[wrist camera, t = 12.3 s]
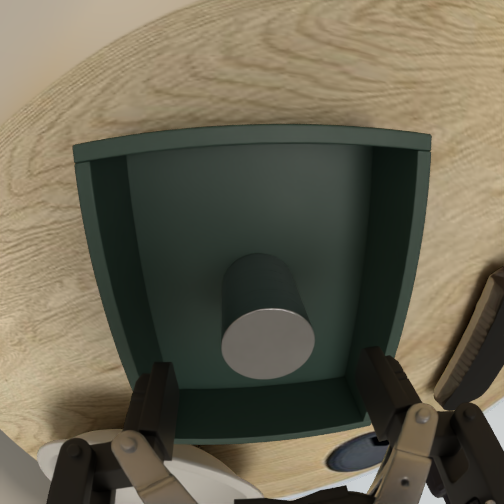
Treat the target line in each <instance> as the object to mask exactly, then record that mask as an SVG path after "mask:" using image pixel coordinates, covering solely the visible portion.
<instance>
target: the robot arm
mask: <svg viewBox="0 0 504 504" xmlns="http://www.w3.org/2000/svg"><path fill="white" fill-rule="evenodd" d="M355 383H356V386H357V389H358V391H359V393H360V396H361V398H362V400H363V403H364V405H365V408H366V410H367V413H368V415H369V417H370V420H371V422H372V425H373V427H374V430H375V432H376V435H377V437H378V440H379V442H380V441H383V440H387V439H388V441H389V443H390V445H389V446H388V449H387V451H386V454H385V456H384V458H383V461H382V463H381V466H380V468H379V470H378V473H377V475H376V477H375V479H374V481H373V483H372V485H371V486H370V488H369V490H368V492H367V494H364V493H360V492H354V491H348V490H347V486H346V485H345V486H341V487H336V488H331V489H325V490H320V491H317V492H315V493H312V494H310V495H307V496H305V497H302V498H299V499H296V500H293V501H287V500H277V499H268V498H251V499H234V504H418V503H419V500H420V498H421V495H422V492H423V489H424V486H425V483H426V480H427V476H428V473H429V470H430V466H431V462H432V459H431V458H429V457H433V458H434V461H435V463H436V466H437V469H438V471H439V474H440V476H441V479H442V482H443V484H444V487H445V490H446V493H447V495H448V498H449V501H450V504H504V451H503V449H502V447H501V445H500V443H499V441H498V440H497V438H496V436H495V434H494V432H493V430H492V428H491V427H490V425H489V423H488V421H487V420H486V418H485V416H484V414H483V413H482V411H481V409H480V408H479V407H478V406H477V405H475V404H473V403H469V402H465V403H462V404H460V405H459V406H458V407H457V408H456V410H455V411H443V412H440V411H436V410H435V409H434V408H433V407H432V406H431V405H429V404H425V403H422V401H421V400H420V398H419V396H418V394H417V393H416V391H415V389H414V388H413V386H412V384H411V382H410V381H409V379H407V375H406V374H405V372H403V369H402V367H401V365H400V364H399V362H398V361H397V360H395V359H394V358H393V357H392V356H390V355H388V356H385V355H384V353H383V351H382V350H381V348H380V347H379V346H373V347H366V348H362V349H361V351H360V355H359V359H358V363H357V367H356V371H355ZM178 405H179V386H178V382H177V378H176V374H175V371H174V367H173V363H172V362H154V363H153V366H152V370H151V373H143V374H142V375H141V376H140V377H139V378H138V380H137V381H136V383H135V386H134V390H133V393H132V397H131V401H130V405H129V408H128V412H127V416H126V420H125V424H124V428H123V430H122V432H120V433H119V434H117V435H116V436H115V437H114V438H113V440H112V441H110V442H106V443H99V444H92V445H89V443H88V442H87V441H86V440H84V439H81V438H71V439H69V440H67V441H65V442H64V443H63V444H62V446H61V448H60V451H59V454H58V458H57V462H56V465H55V469H54V473H53V477H52V481H51V486H50V490H49V494H48V499H47V504H115V498H116V489H122V488H128V487H134V488H135V490H136V491H137V494H138V496H139V497H140V499H141V500H142V502H143V503H144V504H198V503H197V501H196V500H195V499H194V498H193V497H192V496H191V495H190V493H189V492H188V491H187V490H186V489H185V488H184V486H183V485H182V484H181V483H180V481H179V480H178V479H177V478H176V477H175V476H174V475H173V474H172V473H171V472H170V471H169V470H168V469H167V467H166V466H165V465H164V461H172V456H173V447H174V438H175V429H176V421H177V413H178Z"/></svg>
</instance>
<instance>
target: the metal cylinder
mask: <svg viewBox="0 0 504 504" xmlns="http://www.w3.org/2000/svg"><path fill="white" fill-rule="evenodd" d="M314 344H315V335H314V331H313V328H312V325H311V323H310V320H309V318H308V315H307V312H306V310H305V307H304V305H303V302H302V300H301V297H300V294H299V292H298V289H297V287H296V284H295V282H294V279H293V277H292V274H291V272H290V270H289V268H288V267H287V265H286V264H285V263H284V262H283V261H281V260H280V259H278V258H276V257H274V256H272V255H268V254H251V255H247V256H244V257H242V258H240V259H238V260H237V261H235V262H234V263H233V264H232V265H231V266H230V267H229V268H228V270H227V271H226V273H225V275H224V279H223V284H222V319H221V351H222V355H223V358H224V360H225V361H226V363H227V364H228V365H229V366H230V367H231V368H232V369H233V370H234V371H236V372H237V373H239V374H241V375H243V376H246V377H249V378H253V379H274V378H279V377H282V376H285V375H288V374H290V373H292V372H294V371H295V370H297V369H298V368H300V367H301V366H302V365H303V364H304V363H305V362H306V361H307V360H308V358H309V357H310V355H311V353H312V351H313V348H314Z"/></svg>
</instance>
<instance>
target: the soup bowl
mask: <svg viewBox="0 0 504 504" xmlns="http://www.w3.org/2000/svg"><path fill="white" fill-rule="evenodd" d="M122 430H123V429H105V430H96V431H91V432H86V433H83V434H80V435H77V436H75V437H73V438H81V439H84V440H86V441H87V442H88V443H89V445H92V444H99V443H106V442H110V441H112V440H113V438H114V437H115V436H116V435H117V434H119V433H120V432H122ZM70 439H71V438H70ZM67 440H69V439H60V440H53V441H50V442H47V443H45V444H43V445H42V446H41V447H40V448H39V450H38V453H37V461H38V464H39V466H40V468H41V470H42V471H43V472H44V474H45V475H46V476H47V477H48V478H49V479H50V480H51V481H52V477H53V473H54V469H55V465H56V462H57V458H58V454H59V451H60V448H61V446H62V444H63V443H64V442H65V441H67ZM164 465H165V466H166V467H167V469H168V470H169V471H170V472H171V473H172V474H173V475H174V476H175V477H176V478H177V479H178V480H179V481H180V483H181V484H182V485H183V486H184V488H185V489H186V490H187V491H188V492H189V493H190V495H191V496H192V497H193V498H194V499H195V500H196V501H197V503H198V504H234V499H251V498H264V496H263V494H262V493H261V491H260V490H259V489H258V488H257V487H255V486H254V485H252V484H251V483H249V482H248V481H246V480H244V479H242V478H240V477H238V476H237V475H236V474H235V473H234V472H233V471H232V470H231V469H230V468H229V467H228V466H226V465H225V464H224V463H222V462H221V461H220V460H218V459H217V458H215V457H214V456H212V455H210V454H209V453H207V452H205V451H203V450H201V449H199V448H197V447H195V446H193V445H187V444H174V447H173V456H172V461H164ZM115 504H144V503H143V502H142V500H141V499H140V497H139V496H138V494H137V491H136V490H135V488H134V487H128V488H122V489H116V498H115Z"/></svg>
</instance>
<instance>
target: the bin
mask: <svg viewBox="0 0 504 504" xmlns="http://www.w3.org/2000/svg"><path fill="white" fill-rule="evenodd" d="M431 138H432V136H431V135H430V134H425V133H418V132H410V131H402V130H393V129H383V128H372V127H359V126H343V125H322V124H246V125H224V126H208V127H195V128H184V129H174V130H164V131H156V132H148V133H140V134H133V135H126V136H120V137H114V138H108V139H102V140H96V141H91V142H86V143H81V144H76V145H73V156H74V162H75V163H76V164H75V174H76V181H77V188H78V195H79V201H80V207H81V213H82V219H83V224H84V229H85V234H86V239H87V244H88V249H89V253H90V257H91V262H92V266H93V270H94V274H95V278H96V282H97V286H98V289H99V293H100V297H101V300H102V304H103V307H104V311H105V314H106V317H107V321H108V324H109V327H110V330H111V333H112V336H113V339H114V342H115V345H116V348H117V351H118V354H119V357H120V359H121V362H122V365H123V367H124V370H125V373H126V375H127V378H128V381H129V383H130V386H131V388H132V391H133V390H134V386H135V383H136V381H137V380H138V378H139V377H140V376H141V375H142V374H143V373H151V370H152V366H153V363H154V362H172V363H173V367H174V371H175V374H176V378H177V382H178V386H179V405H178V413H177V421H176V429H175V438H174V444H187V445H216V444H243V443H258V442H270V441H280V440H289V439H297V438H305V437H312V436H318V435H324V434H330V433H336V432H341V431H346V430H351V429H356V428H361V427H365V426H370V425H371V420H370V417H369V415H368V413H367V410H366V408H365V405H364V403H363V400H362V398H361V396H360V393H359V391H358V389H357V386H356V383H355V371H356V367H357V363H358V359H359V355H360V351H361V349H362V348H366V347H373V346H379V347H380V348H381V350H382V351H383V353H384V355H385V356H388V355H390V356H392V357H393V358H395V354H396V351H397V348H398V344H399V341H400V337H401V334H402V330H403V327H404V323H405V319H406V315H407V311H408V307H409V303H410V298H411V294H412V290H413V285H414V280H415V275H416V270H417V265H418V260H419V254H420V249H421V243H422V236H423V230H424V223H425V215H426V207H427V198H428V188H429V177H430V163H431V152H430V151H431ZM251 254H268V255H272V256H274V257H276V258H278V259H280V260H281V261H283V262H284V263H285V264H286V265H287V267H288V268H289V270H290V272H291V274H292V277H293V279H294V282H295V284H296V287H297V289H298V292H299V294H300V297H301V300H302V302H303V305H304V307H305V310H306V312H307V315H308V318H309V320H310V323H311V325H312V328H313V331H314V335H315V344H314V348H313V351H312V353H311V355H310V357H309V358H308V360H307V361H306V362H305V363H304V364H303V365H302V366H301V367H300V368H298V369H297V370H295V371H294V372H292V373H290V374H288V375H285V376H282V377H279V378H274V379H253V378H249V377H246V376H243V375H241V374H239V373H237V372H236V371H234V370H233V369H232V368H231V367H230V366H229V365H228V364H227V363H226V361H225V360H224V358H223V355H222V351H221V319H222V284H223V279H224V275H225V273H226V271H227V270H228V268H229V267H230V266H231V265H232V264H233V263H234V262H235V261H237V260H238V259H240V258H242V257H244V256H247V255H251Z"/></svg>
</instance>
